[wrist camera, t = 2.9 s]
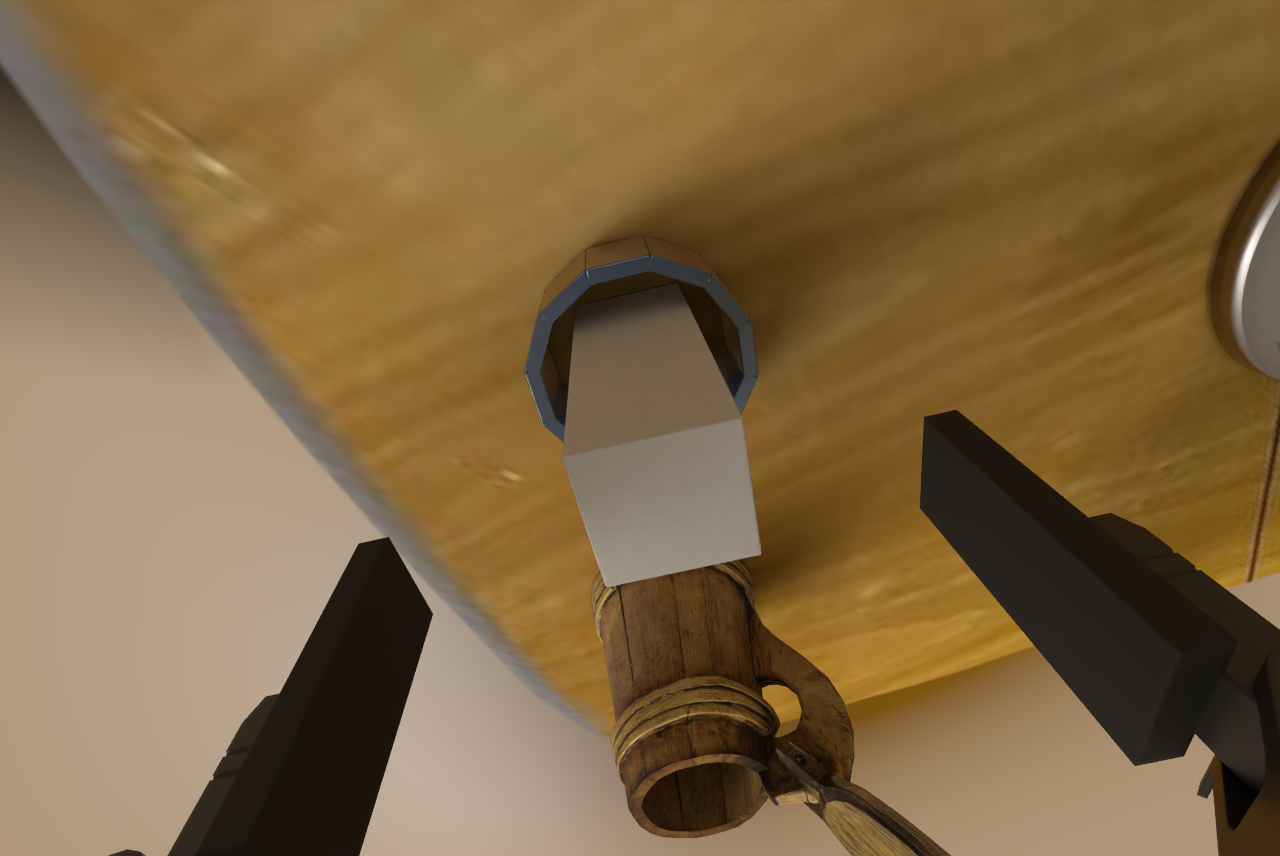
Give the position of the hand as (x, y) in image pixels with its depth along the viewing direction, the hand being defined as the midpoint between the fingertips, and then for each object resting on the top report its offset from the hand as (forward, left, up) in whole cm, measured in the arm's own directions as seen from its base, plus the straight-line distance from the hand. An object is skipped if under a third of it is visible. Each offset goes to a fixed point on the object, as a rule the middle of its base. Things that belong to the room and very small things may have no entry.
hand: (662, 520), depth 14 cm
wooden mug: (-1, +15, -13) cm, 20 cm away
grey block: (0, 0, -13) cm, 13 cm away
